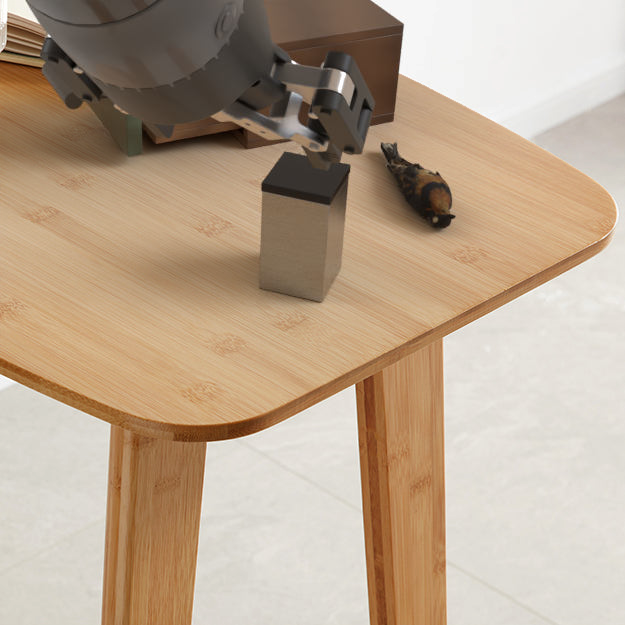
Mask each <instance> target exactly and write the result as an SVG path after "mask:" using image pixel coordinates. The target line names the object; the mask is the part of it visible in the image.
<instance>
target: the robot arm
mask: <svg viewBox="0 0 625 625" xmlns="http://www.w3.org/2000/svg"><path fill="white" fill-rule="evenodd" d="M25 3H26V5H27V6H28V8H29V9H30V11H31V12H32V14H33V16H34V17H35V18H36V20H37V22H38V24H39V25H40V26H41V27H42V28H43V30H44V31H45V35H44V39H43V43H42V47H41V49H40V52H39V57H40V58H41V59H42V61H44V62H45V63H47V64H48V65H49V67H50V68H51V69H52V70H53V71H54V72H55V73H56V74H57V75H58V76H59V78H60V79H61V80H62V81H63V82H64V83H65V84H66V85H67V86H68V87H69V89H70V90H71V91H72V92H73V93H74V94H75V95H76V96H77V97H78V98H80V99H81V100H82V101H84V102H85V103H86V102H87V103H99V102H100V99H101V96H102V95H103V96H107V97H109V98H110V99H111V100H112V101H113V102H114V103H115V104H114V107H115V108H116V109H118V110H120V111H121V112H122V113H125V114H130V115H132V116H134V117H136V118H138V119H139V120H140V121H141V122H143V123H144V124H145V125H146V126H147V127H148V128H149V129H150V130H151V131H152V133H153V134H154V135H155V136H159V137H164V138H170V137H171V136H172V133H173V130H174V127H175V125H179V124H187V123H192V122H196V121H200V120H203V119H205V118H208V117H212V118H214V119H216V120H218V121H220V122H227V121H232V122H234V123H236V124H238V125H240V126H242V127H244V128H246V129H248V130H250V131H252V132H254V133H256V134H258V135H260V136H262V137H263V138H265V139H267V140H280V139H290V140H292V141H293V142H294V143H296V144H298V145H300V146H301V148H302V150H303V152H304V154H305V155H306V156H307V157H308V159H309V160H310V162H311V164H312V166H313V167H314V168H318V169H323V170H328V169H329V167H330V164H331V162H332V163H337V164H338V163H339V162H340V163H341V160H342V157H343V153H344V154H346V155H349V156H353V155H354V156H355V155H362V154H363V151H364V148H365V144H366V140H367V136H368V133H369V129H370V126H371V125H370V121H371V118H372V114H373V110H374V106H375V101H374V99H373V97H372V95H371V93H370V91H369V89H368V87H367V85H366V83H365V81H364V79H363V77H362V75H361V73H360V70H359V68H358V66H357V64H356V62H355V60H354V59H353V58H352V57H351V56H350V55H348V54H345V53H343V52H339V51H329V52H327V54H326V57H325V61H324V63H322V64H321V68H318V67H312V66H306V65H300V64H298V63H296V62H294V61H292V60H291V58H290V56H289V54H288V53H287V52H286V51H285V50H283V49H282V48H280V47H279V46H277V45H276V44H275V43H274V42H273V41H272V39H271V34H270V27H269V21H268V16H267V12H266V8H265V5H264V2H263V0H25ZM302 101H304V102H306V103H308V104H310V109H309V112H308V116H309V118H308V122H307V125H306V127H305V126H304V125H302V124H300V122H299V120H298V115H299V111H300V108H301V104H302ZM84 102H83V103H84ZM87 103H86V104H87ZM270 105H271V109H270V113H269V116H268V117H266V116H264V115H262V114H260V113H258V112H257V111H259V110H261V109H264V108H266V107H268V106H270ZM369 125H370V126H369ZM292 141H291V142H292Z"/></svg>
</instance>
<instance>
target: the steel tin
mask: <svg viewBox="0 0 625 625" xmlns="http://www.w3.org/2000/svg"><path fill="white" fill-rule="evenodd" d="M351 166H352V165H351V164H350V163H345V162H341V161H340V162H339V163H338V164H337V163H332V162H331V164H330V167H329V169H328V170H323V169H318V168H314V167H313V166H312V164H311V162H310V160H309V159H308V157H307V155H306V154H300V153H295V152H291V151H285V150H284V151H283V153H282V154H281V155H280V157H279V158H278V159H277V161H276V163H275V164H274V165H273V167H272V168H271V169H270V170H269V172H268V173H267V175H266V176H265V177H264V179H263V180H262V182H261V183H260V191H261V215H260V245H259V246H260V247H259V274H258V288H259V289H263V290H266V291H270V292H274V293H279V294H284V295H286V296H292V297H296V298H301V299H305V300H310V301H313V302H319V303H323V302H324V300H325V298H326V296H327V295H328V292H329V290H330V289H331V287H332V285H333V283H334V281H335V279H336V278H337V277H338V274H339V272H340V270H341V269H342V262H343V261H342V260H343V248H344V238H345V237H344V236H345V226H346V216H347V215H346V213H347V202H348V201H347V200H348V190H349V181H350V180H349V179H350V173H351Z"/></svg>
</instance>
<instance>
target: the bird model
mask: <svg viewBox="0 0 625 625" xmlns="http://www.w3.org/2000/svg"><path fill="white" fill-rule="evenodd" d="M379 147H380V150H381V152H382V154H383V156H384V157H385V160H386V161H387V163H388V164H386V165H385V166H386V168H387V170H388V172H389V173H390V174H391V176H392V177H393V178H394V180H395V182H396V185H397V187H398V189H399V191H400V193H401V194H402V196H403V199H404V201H405V203H407V205H409V206H410V208H412V209H413V210H414V211H416V212H417V214H418V215H419V216H420V217H422V218H424V219H428V221H429V224H430V225H431V226H432V228H435V229H446V228H448V227H450V226H451V224H452V220H455V219H456V215H455V214H452V213H451V211H450V210H451V209H452V206H453V195H452V191H451V189H450V186H449V184H448V182H447V181H446V179H445V178H443V177H442V175H441V174H440V172H439V171H435V172H433V171H431V170H430V169H427V168H424V167H423V166H422V165H420V163H417V162H416V163H412V162H411V161H408V160H406V159H405V158H404V157H402V155H401V154H400V153H399V151H398V142H397V141H394V142H393V143H390V142H386V143H385V142H383V141H380V146H379Z"/></svg>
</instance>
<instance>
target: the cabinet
mask: <svg viewBox="0 0 625 625" xmlns="http://www.w3.org/2000/svg"><path fill="white" fill-rule="evenodd" d="M263 2H264V5H265V8H266V12H267V16H268V21H269V27H270V34H271V39H272V41H273V42H274V43H275V44H276V45H277V46H279V47H280V48H282V49H283V50H285V51H286V52H287V53H288V54H289V56H290V58H291V60H292V61H294V62H296V63H298V64H300V65H306V66H312V67H318V68H321V64H322V63H324V61H325V57H326V54H327V52H329V51H339V52H343V53H345V54H348V55H350V56H351V57H352V58H353V59H354V60H355V62H356V64H357V66H358V68H359V70H360V73H361V75H362V77H363V79H364V81H365V83H366V85H367V87H368V89H369V91H370V93H371V95H372V97H373V99H374V101H375V106H374V110H373V114H372V118H371V121H370V125H369V127H370V126H375V125H380V124H384V123H390V122H394V120H395V113H396V104H397V94H398V85H399V77H400V76H399V75H400V66H401V57H402V47H403V37H404V28H405V23H403V22H402V21H400V20H399V19H398V18H396V17H395V16H394V15H393V14H391V13H390V12H388V11H387V10H385V9H384V8H382V7H381V6H380V5H378V4H377V3H375V2H374V1H373V0H263ZM270 109H271V105H270V106H268V107H266V108H264V109H261V110H259V111H257V112H258V113H260V114H262V115H264V116H266V117H268V116H269V113H270ZM309 109H310V104H308V103H306V102H304V101H302V104H301V108H300V111H299V115H298V120H299V122H300V124H302V125H304V126H305V127H306V125H307V122H308V118H309V116H308V112H309ZM229 131H230V132H231V133H232V135H233V136H235V138H236V139H237V140H238V141H239V142H240V143H241V144H242V145H243V146H244V147H245V149H247V150H249V149H254V148H260V147H266V146H270V145H276V144H280V143H286V142H292V140H290V139H280V140H267V139H265V138H263V137H262V136H260V135H258V134H256V133H254V132H252V131H250V130H248V129H246V128H240V129H234V130H229Z"/></svg>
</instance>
